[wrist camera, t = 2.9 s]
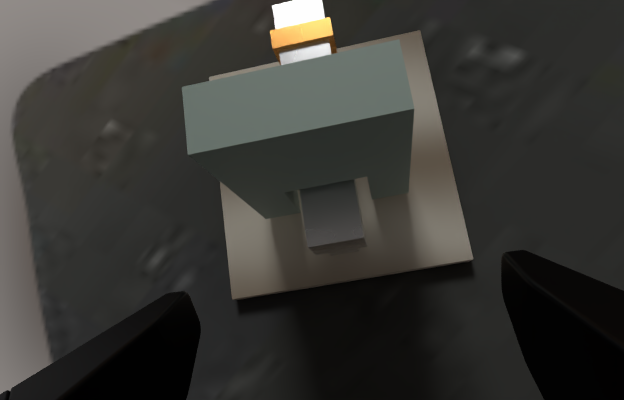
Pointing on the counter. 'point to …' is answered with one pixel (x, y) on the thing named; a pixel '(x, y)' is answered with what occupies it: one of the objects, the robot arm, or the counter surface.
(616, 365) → the robot arm
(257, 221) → the guide board
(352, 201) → the grey square-edged bar
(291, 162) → the sleeve collar
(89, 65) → the counter surface
